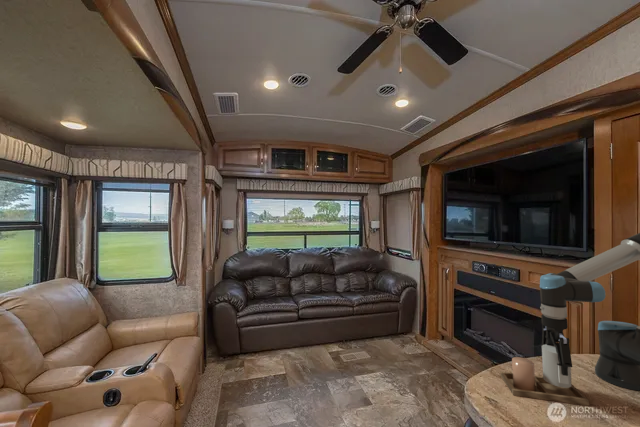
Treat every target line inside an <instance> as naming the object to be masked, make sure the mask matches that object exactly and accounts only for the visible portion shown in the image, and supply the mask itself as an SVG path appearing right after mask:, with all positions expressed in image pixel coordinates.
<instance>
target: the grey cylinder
mask: <svg viewBox="0 0 640 427" xmlns="http://www.w3.org/2000/svg"><path fill="white" fill-rule="evenodd" d="M541 357H542V358H541V359H542V361H541V362H542V377H543V379H544V380H545V381H547V382H548V383H550V384H552V385H555V386H558V387H563V388H569V387H571V386H572V385H573V384H572V369H571V368H572V367H568V378H569V384H563V383H559V379H558V365H557V364H559V360H558V354H557V352H556V348H555V345H554V346H552V345H546V344H545V345H542V344H541Z"/></svg>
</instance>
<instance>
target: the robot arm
mask: <svg viewBox="0 0 640 427" xmlns="http://www.w3.org/2000/svg"><path fill="white" fill-rule="evenodd" d="M636 261H640V232H638V233H636V234H633V235H632V236H630V237H629V236H628V237H627V238H625V239H623V240H621V241H620V244H618V245H617V246H614V247H612V248H609V249H608V250H606V251H603V252H601V253H599V254H597V255H595V256H592V257H591V258H589V259H586V260H584V261H581V262H580V263H577V264H575V265H574V266H571V267H569V268H567V269H565V270H562V271H560V272H558V273H551V272H549V273H547V274H543V275H540V278H539V294H540V307H539V308H540V312H541V314H542V315H540V316H541V330H542V332H541V333H542V334H541V346H542V345H545V344H546V345H552V346H554V345H555V348H556V352H557V354H558V360H559V364H557V365H558V379H559V383H563V384H569V378H568V367H571V368H573V362H572V356H571V355H572V354H571V349H570V339H569V337H565V335H564V330H567V329H568V319H567V318H568V306H567V302H577V303H578V302H579V303H581V302H583V303H600V302H603V301H605V298H606V290H605V288H604V286H603V285H602V284H601V283H599V282H596V281H594V280H596V279H598V278H600V277H602V276H606V275H607V274H610V273H613V272H614V271H616V270H618V269H621V268H623V267H626V266H628V265H631V264H632V263H634V262H636ZM597 332H598V346H599V347H598V348H599V357H598V359H597V361H596V364H595V366H594V374H595V375H596V376H597V377H598V378H599V379H601V380H603V381H605V382H607V383H609V384H611V385H614V386H616V387H620V388H624V389H628V390H633V391H640V325H637V324H635V323H629V322H625V321H616V320H615V321H614V320H602V321H601V320H600V321H599V322H598V324H597Z"/></svg>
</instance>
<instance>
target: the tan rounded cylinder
mask: <svg viewBox="0 0 640 427" xmlns="http://www.w3.org/2000/svg"><path fill="white" fill-rule="evenodd" d="M511 364H512V366H511V367H512V373H513V386H514V387H515V388H516V389H519V390H527V391H534V392H535V391H536V389H535V376H536V375H535V374H536V373H535V362H533V361H532V360H530V359H528V358H525V357H520V356H515V357H512V358H511Z"/></svg>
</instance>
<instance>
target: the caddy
mask: <svg viewBox="0 0 640 427" xmlns="http://www.w3.org/2000/svg"><path fill="white" fill-rule="evenodd" d="M500 378H501V379H502V381H503V383H505V385H506V387H507V388H508V390H509V391H510V393H511V395H512V396H516V397H522V398H529V399H530V398H531V399H536V400H544V401H551V402H558V403H564V404H571V405H579V406H588V407H590V400H589V399H588V398H587V397H586V396H585V395H584V394H583V393H582V392H580V391H579V389H578V388H576V387H575V386H574V384H572V386H571V387H569V388H563V387H558V386H555V385H552V384H550V383H548V382H547V381H545V380H544V379H543V375H541V376H540V375H535V389H536V391H535V392H534V391H527V390H519V389H516V388H515V387H514V386H513V372H507V371H500Z"/></svg>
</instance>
